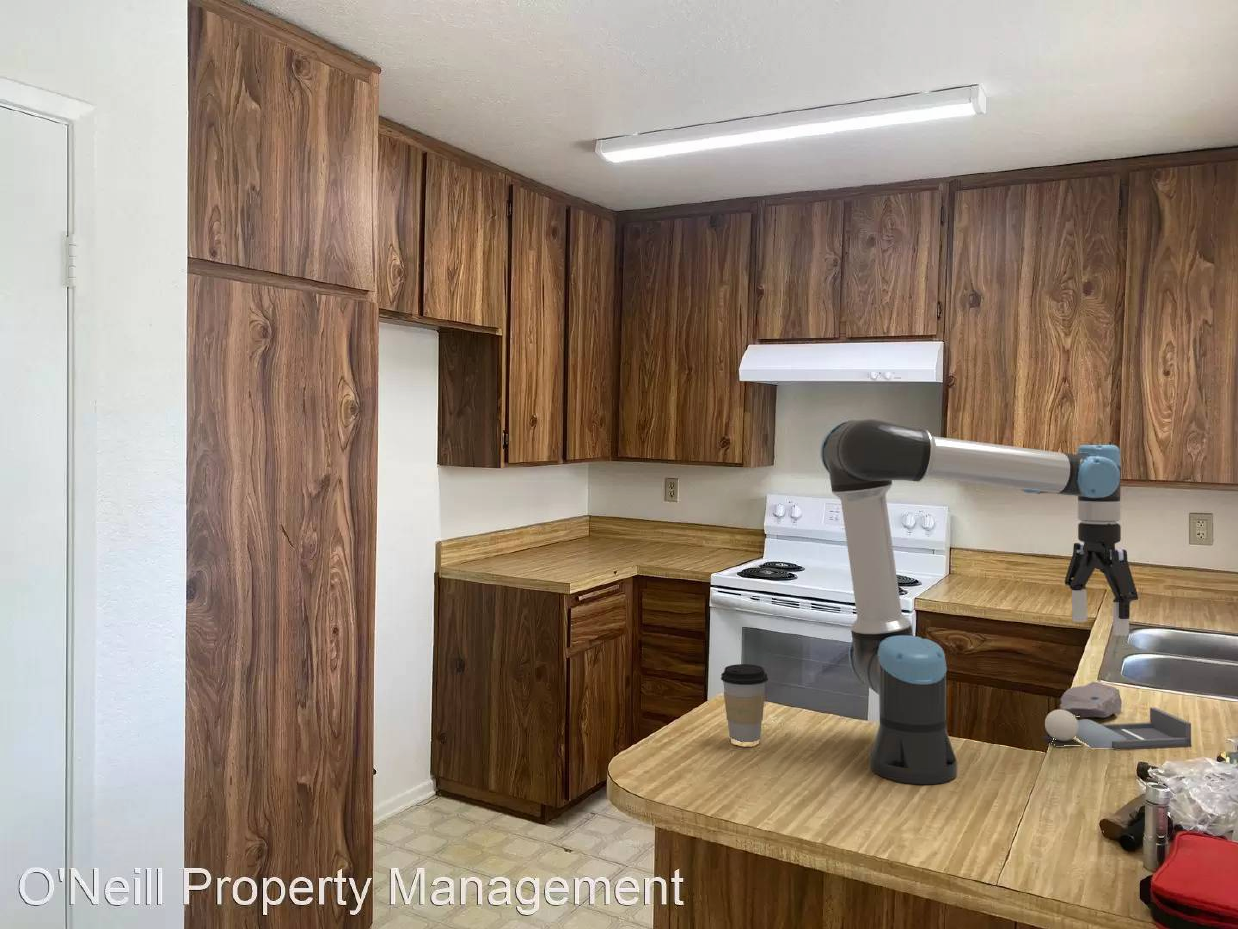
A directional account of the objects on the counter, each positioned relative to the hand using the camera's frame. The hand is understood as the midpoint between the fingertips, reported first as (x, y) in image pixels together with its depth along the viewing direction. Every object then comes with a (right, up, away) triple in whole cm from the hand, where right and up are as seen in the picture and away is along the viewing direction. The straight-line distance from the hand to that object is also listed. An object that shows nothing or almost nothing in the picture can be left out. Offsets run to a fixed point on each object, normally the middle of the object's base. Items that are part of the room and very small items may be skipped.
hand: (1099, 628), depth 181 cm
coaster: (-9, -22, -2) cm, 24 cm away
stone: (+7, -22, +16) cm, 28 cm away
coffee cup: (-70, -24, +2) cm, 74 cm away
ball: (-9, -19, -2) cm, 21 cm away
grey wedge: (-1, -27, -1) cm, 27 cm away
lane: (+7, -22, -1) cm, 23 cm away
